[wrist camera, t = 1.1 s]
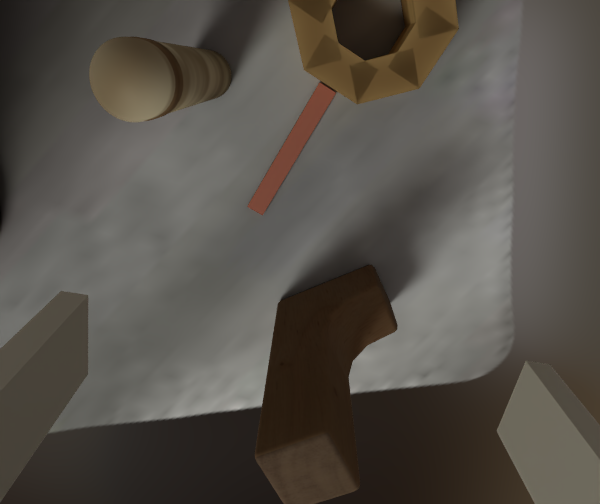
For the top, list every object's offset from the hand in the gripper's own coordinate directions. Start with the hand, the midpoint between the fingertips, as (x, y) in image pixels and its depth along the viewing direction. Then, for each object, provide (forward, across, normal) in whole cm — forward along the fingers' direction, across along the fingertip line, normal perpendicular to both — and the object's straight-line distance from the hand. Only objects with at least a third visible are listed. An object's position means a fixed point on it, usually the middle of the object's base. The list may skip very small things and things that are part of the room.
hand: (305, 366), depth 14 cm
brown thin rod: (+25, -1, +2) cm, 25 cm away
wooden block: (+25, +5, -10) cm, 28 cm away
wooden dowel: (+25, -8, +6) cm, 27 cm away
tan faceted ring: (+25, +2, +12) cm, 28 cm away
